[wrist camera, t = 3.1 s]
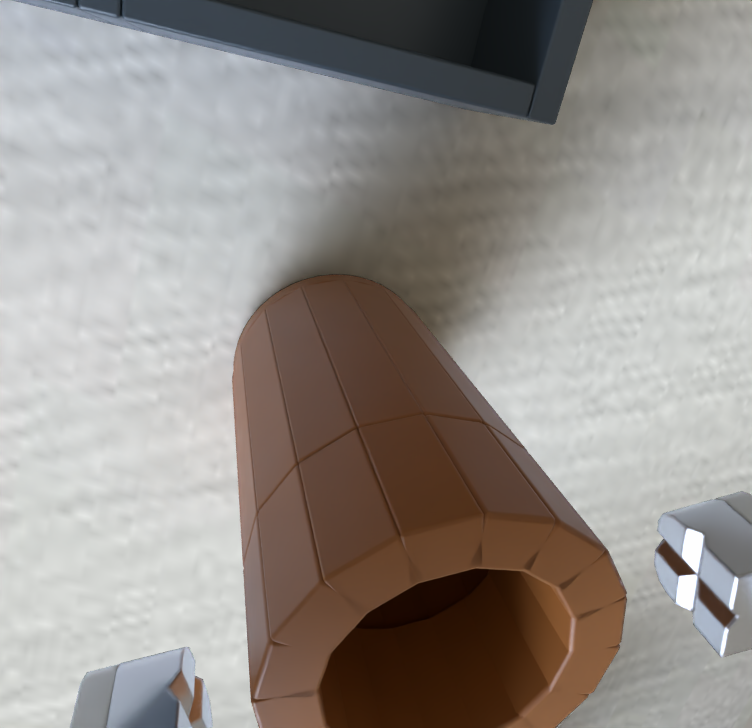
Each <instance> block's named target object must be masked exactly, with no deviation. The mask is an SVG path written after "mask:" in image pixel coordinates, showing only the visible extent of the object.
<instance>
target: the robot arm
mask: <svg viewBox="0 0 752 728" xmlns="http://www.w3.org/2000/svg"><path fill="white" fill-rule="evenodd" d="M657 531H658V532H659V534H660V535H661V536H662V537H663V538H664V539H663V540H662V542H661V543H660V544H659V546H658V547H657V548H656V550H655V561H654V565H655V569H656V572H657V575H658V579H659V581H660V583H661V585H662V586H663V588H664V590H665V591H666V593H667V594H668V595H669V596H670V598H671V599H672V600H673V601H674V603H675V604H677V605H679V606H681V607H683V608H686V609H688V610H690V611H692V612H693V625H694V626H695V627H696V629H697V630H698V631H699V632H700V633H701V634H702V636H703V637H704V638H705V639H706V640H707V641H708V643H709V644H710V645H711V646H712V647H713V649H714V650H715V651H716V652H717V653H718V654H719V656H720V657H721V658H722V657H726V656H729V655H733V654H736V653H740V652H743V651H747V650H750V649H752V495H751V494H749V493H746V492H743V491H741V492H737V493H733V494H730V495H726V496H723V497H719V498H716V499H714V500H708V501H704V502H701V503H697V504H694V505H690V506H687V507H684V508H680V509H677V510H673V511H670V512H666V513H663V514H662V516H661V517H660V519H659V520H658V528H657ZM70 728H213V722H212V713H211V704H210V700H209V696H208V692H207V688H206V686H205V683H204V681H203V679H201V678H199V677H197V676H195V659H194V657H193V655H192V652H191V650H190V648H189V647H183V648H179V649H175V650H171V651H167V652H163V653H159V654H155V655H151V656H147V657H143V658H139V659H135V660H131V661H127V662H123V663H121V664H117V665H113V666H109V667H105V668H101V669H98V670H94V671H90V672H87V673H86V675H85V676H84V678H83V680H82V681H81V683H80V686H79V691H78V695H77V699H76V703H75V707H74V712H73V716H72V720H71V724H70Z"/></svg>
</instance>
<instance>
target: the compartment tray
mask: <svg viewBox="0 0 752 728" xmlns="http://www.w3.org/2000/svg"><path fill="white" fill-rule="evenodd" d="M13 1H17V2H21V3H25V4H30V5H34V6H38V7H42V8H46V9H50V10H55V11H59V12H63V13H67V14H71V15H75V16H80V17H84V18H88V19H92V20H96V21H100V22H105V23H109V24H113V25H117V26H121V27H125V28H130V29H134V30H138V31H142V32H146V33H150V34H154V35H159V36H163V37H167V38H171V39H175V40H179V41H184V42H188V43H192V44H196V45H200V46H204V47H209V48H213V49H217V50H221V51H225V52H229V53H234V54H238V55H242V56H246V57H250V58H254V59H259V60H263V61H267V62H271V63H275V64H279V65H284V66H288V67H292V68H296V69H300V70H304V71H309V72H313V73H317V74H321V75H325V76H329V77H333V78H338V79H342V80H346V81H350V82H354V83H358V84H363V85H367V86H371V87H375V88H379V89H383V90H388V91H392V92H396V93H400V94H404V95H408V96H413V97H417V98H421V99H425V100H429V101H433V102H438V103H442V104H446V105H450V106H454V107H458V108H463V109H467V110H471V111H477V112H482V113H488V114H494V115H499V116H505V117H511V118H516V119H522V120H528V121H533V122H539V123H545V124H550V125H553V124H555V123H556V119H557V116H558V113H559V110H560V106H561V103H562V100H563V97H564V93H565V90H566V87H567V84H568V80H569V77H570V74H571V71H572V67H573V64H574V61H575V58H576V54H577V51H578V48H579V45H580V41H581V38H582V35H583V32H584V28H585V25H586V22H587V19H588V15H589V12H590V9H591V6H592V2H593V0H13Z"/></svg>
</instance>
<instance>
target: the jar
mask: <svg viewBox="0 0 752 728" xmlns="http://www.w3.org/2000/svg"><path fill="white" fill-rule="evenodd" d="M232 384H233V401H234V418H235V435H236V453H237V470H238V487H239V504H240V522H241V539H242V556H243V567H244V570H243V572H244V589H245V606H246V624H247V641H248V658H249V675H250V692H251V703H252V706H253V709H254V713H255V716H256V719H257V723H258V726H259V728H555V727H556V726H557V725H558V724H559V723H560V722H561V721H563V720H564V719H565V718H566V717H567V716H568V715H569V714H570V713H571V712H572V711H573V710H574V709H575V708H577V707H578V706H579V705H580V704H581V703H582V702H583V701H584V700H585V699H586V698H587V697H588V695H589V694H591V693H592V692H594V690H595V689H596V687H597V685H598V684H599V682H600V680H601V678H602V677H603V675H604V673H605V672H606V670H607V668H608V667H609V665H610V663H611V662H612V660H613V658H614V657H615V655H616V653H617V652H618V650H619V648H620V645H619V644H620V642H621V639H622V631H623V624H624V616H625V609H626V602H627V598H626V594H627V592H626V589H625V587H624V584H623V582H622V580H621V578H620V576H619V573H618V571H617V569H616V567H615V565H614V563H613V560H612V558H611V556H610V554H609V552H608V550H607V549H606V547H605V546H604V545H603V544H602V543H601V541H600V540H599V539H598V538H597V536H596V535H595V534H594V533H593V531H592V530H591V529H590V528H589V527H588V525H587V524H586V523H585V522H584V520H583V519H582V518H581V517H580V515H579V514H578V513H577V512H576V511H575V509H574V508H573V507H572V506H571V504H570V503H569V502H568V501H567V499H566V498H565V497H564V496H563V494H562V493H561V492H560V491H559V490H558V488H557V487H556V486H555V485H554V483H553V482H552V481H551V480H550V478H549V477H548V476H547V475H546V474H545V472H544V471H543V470H542V469H541V467H540V466H539V465H538V464H537V462H536V461H535V460H534V459H533V458H532V456H531V455H530V454H529V453H528V452H527V450H526V449H525V447H524V446H523V445H522V444H521V443H520V441H519V440H518V439H517V438H516V436H515V435H514V434H513V433H512V431H511V430H510V429H509V428H508V427H507V425H506V424H505V423H504V422H503V420H502V419H501V418H500V417H499V415H498V414H497V413H496V412H495V410H494V409H493V408H492V407H491V406H490V404H489V403H488V402H487V401H486V399H485V398H484V397H483V396H482V394H481V393H480V392H479V391H478V390H477V388H476V387H475V386H474V385H473V383H472V382H471V381H470V380H469V378H468V377H467V376H466V375H465V374H464V372H463V371H462V370H461V369H460V367H459V366H458V365H457V364H456V362H455V361H454V360H453V359H452V358H451V356H450V355H449V354H448V353H447V351H446V350H445V349H444V348H443V346H442V345H441V344H440V343H439V342H438V340H437V339H436V338H435V337H434V335H433V334H432V333H431V332H430V330H429V329H428V328H427V327H426V326H425V324H424V323H423V322H422V321H421V319H420V318H419V317H418V316H417V314H416V313H415V312H414V311H413V310H412V309H411V308H410V307H409V306H407V305H406V304H405V303H404V302H403V300H402V299H400V298H399V297H398V296H397V295H396V294H395V293H393V292H392V291H390V290H389V289H387V288H386V287H384V286H382V285H380V284H378V283H376V282H374V281H371V280H368V279H365V278H361V277H357V276H350V275H324V276H317V277H313V278H308V279H305V280H302V281H299V282H297V283H294V284H292V285H290V286H288V287H286V288H284V289H282V290H281V291H279V292H278V293H276V294H275V295H273V296H272V297H270V298H269V299H268V300H267V301H266V302H265V303H264V304H263V305H261V306H260V307H259V308H258V310H257V311H256V312H255V313H254V314H253V316H252V317H251V318H250V320H249V321H248V323H247V324H246V326H245V328H244V330H243V332H242V334H241V336H240V338H239V341H238V344H237V347H236V351H235V357H234V372H233V376H232Z"/></svg>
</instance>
